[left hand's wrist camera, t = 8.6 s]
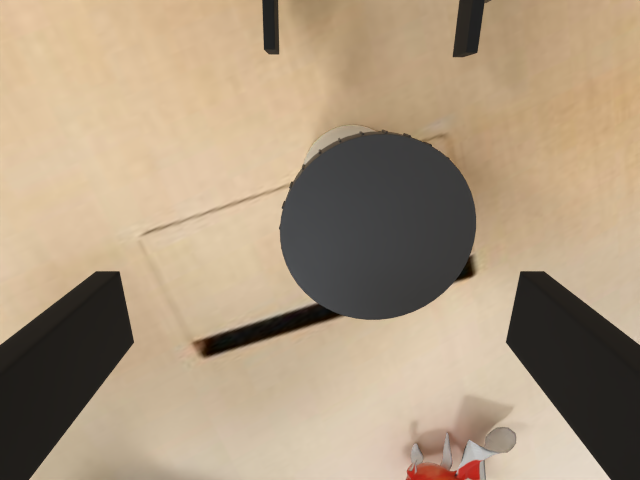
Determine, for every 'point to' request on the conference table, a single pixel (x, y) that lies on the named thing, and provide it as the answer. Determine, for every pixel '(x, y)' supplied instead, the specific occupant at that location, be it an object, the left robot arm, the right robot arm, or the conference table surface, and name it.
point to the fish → (472, 468)
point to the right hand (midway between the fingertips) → (368, 54)
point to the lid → (377, 225)
